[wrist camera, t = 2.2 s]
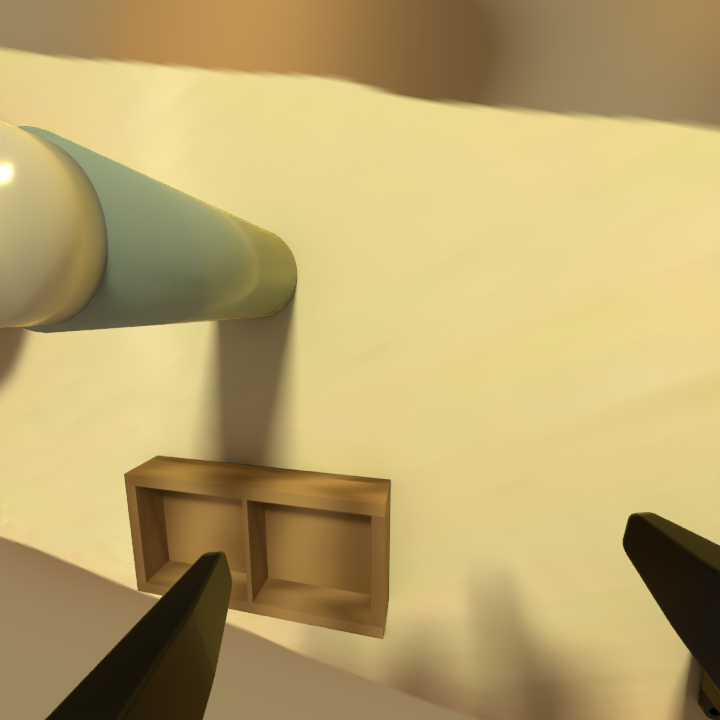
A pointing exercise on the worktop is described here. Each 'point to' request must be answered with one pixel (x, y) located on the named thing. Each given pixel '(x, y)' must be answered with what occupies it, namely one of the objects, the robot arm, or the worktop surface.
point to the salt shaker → (122, 246)
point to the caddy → (268, 538)
